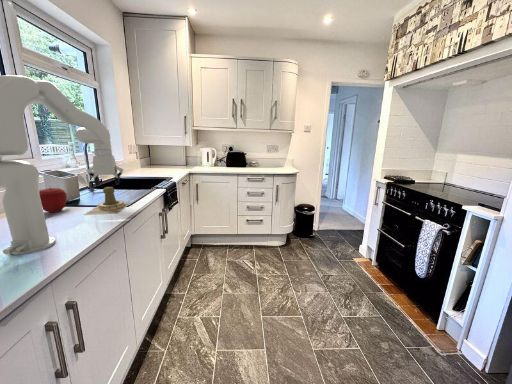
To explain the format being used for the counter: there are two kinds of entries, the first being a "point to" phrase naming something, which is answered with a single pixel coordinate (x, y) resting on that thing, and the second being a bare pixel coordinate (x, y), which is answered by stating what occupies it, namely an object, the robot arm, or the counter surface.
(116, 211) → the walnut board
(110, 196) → the cork
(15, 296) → the counter surface
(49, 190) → the apple
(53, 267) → the counter surface
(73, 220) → the counter surface
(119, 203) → the beech ring
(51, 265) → the counter surface
